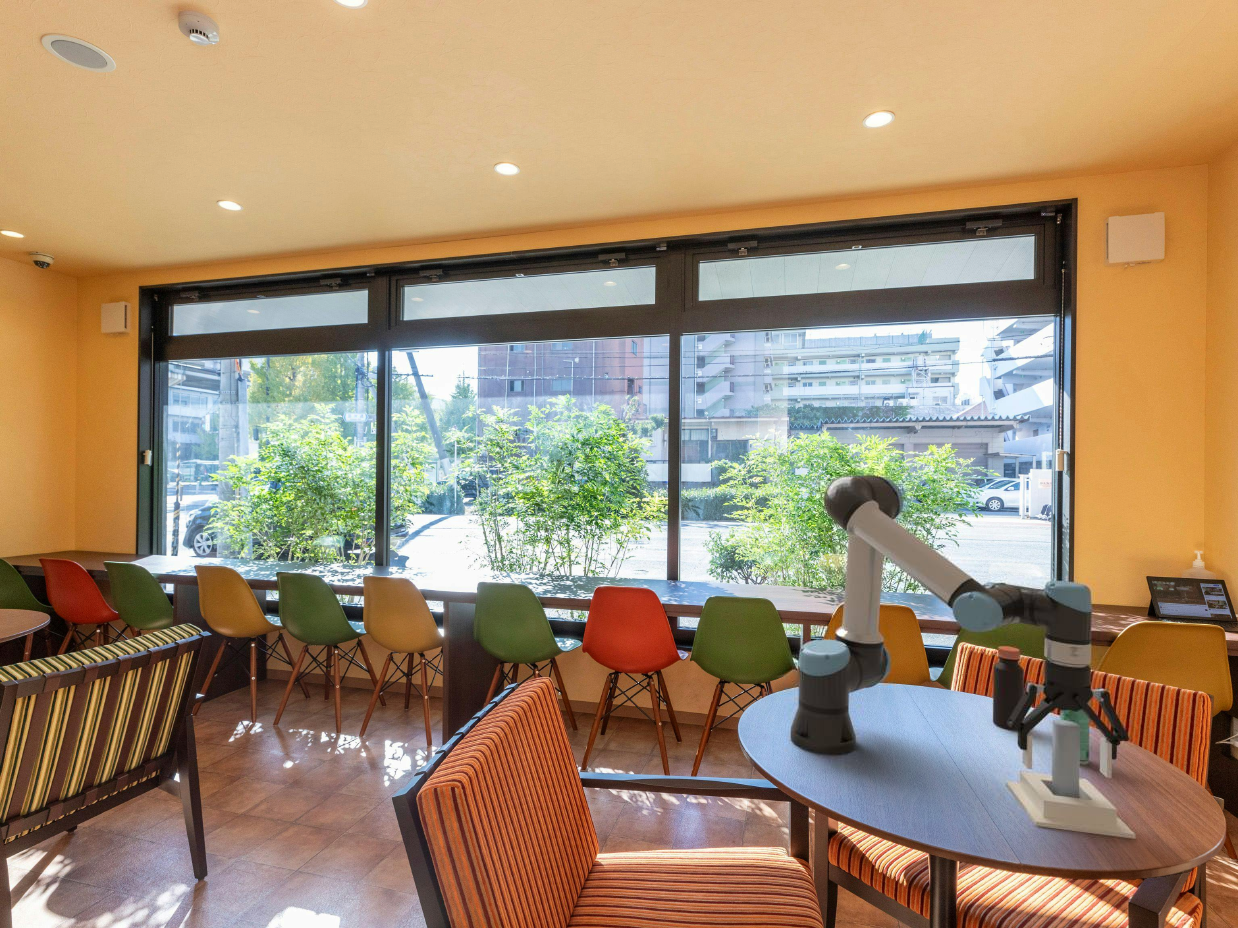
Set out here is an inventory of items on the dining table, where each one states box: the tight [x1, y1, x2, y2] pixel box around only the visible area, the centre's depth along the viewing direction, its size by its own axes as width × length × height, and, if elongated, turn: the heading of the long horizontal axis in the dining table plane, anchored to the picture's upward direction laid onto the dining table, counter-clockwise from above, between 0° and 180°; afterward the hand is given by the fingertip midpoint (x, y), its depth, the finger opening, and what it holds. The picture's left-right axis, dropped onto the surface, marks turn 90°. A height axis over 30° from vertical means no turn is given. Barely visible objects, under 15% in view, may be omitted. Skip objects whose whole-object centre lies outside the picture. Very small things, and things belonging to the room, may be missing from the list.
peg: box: [1051, 719, 1081, 798], centre depth 125 cm, size 4×4×16 cm
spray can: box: [1059, 701, 1091, 766], centre depth 148 cm, size 6×6×20 cm
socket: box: [1005, 771, 1136, 840], centre depth 125 cm, size 16×16×4 cm
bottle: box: [992, 645, 1025, 731], centre depth 167 cm, size 7×7×20 cm
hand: (1065, 770), depth 125 cm, fingers open, 13 cm apart
